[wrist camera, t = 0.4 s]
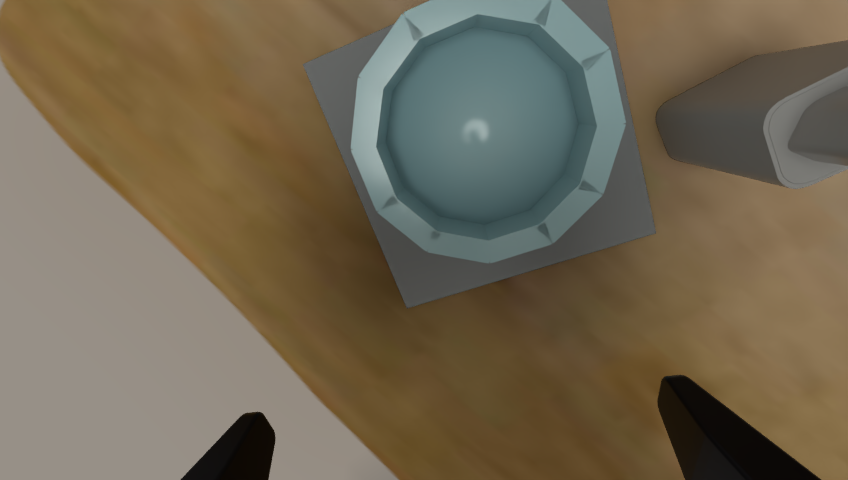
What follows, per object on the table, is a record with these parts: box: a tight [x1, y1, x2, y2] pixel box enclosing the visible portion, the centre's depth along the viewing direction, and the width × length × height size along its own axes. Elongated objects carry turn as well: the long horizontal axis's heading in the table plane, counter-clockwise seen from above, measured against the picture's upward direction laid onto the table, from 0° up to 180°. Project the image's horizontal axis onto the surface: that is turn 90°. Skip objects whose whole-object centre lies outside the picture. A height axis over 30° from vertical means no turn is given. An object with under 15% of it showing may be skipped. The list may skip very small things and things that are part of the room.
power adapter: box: [656, 40, 848, 189], centre depth 13 cm, size 3×5×12 cm, turn 119°
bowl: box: [351, 0, 626, 264], centre depth 18 cm, size 11×11×3 cm
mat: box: [303, 0, 656, 308], centre depth 20 cm, size 14×14×1 cm
